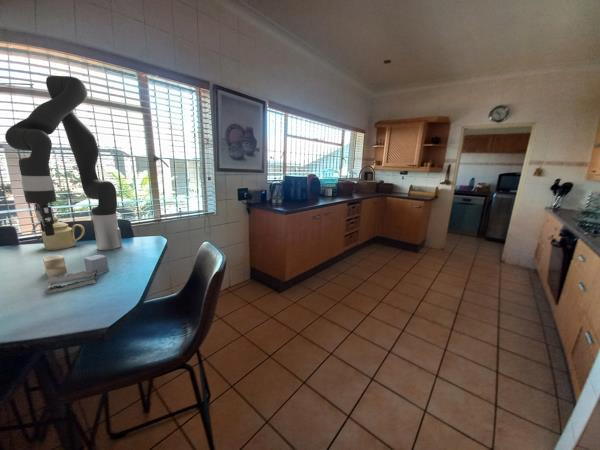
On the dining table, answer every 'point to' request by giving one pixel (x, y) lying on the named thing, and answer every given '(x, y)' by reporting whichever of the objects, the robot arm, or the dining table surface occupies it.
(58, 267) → the beech block
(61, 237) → the yellow teapot
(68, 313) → the dining table surface
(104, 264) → the slate block
